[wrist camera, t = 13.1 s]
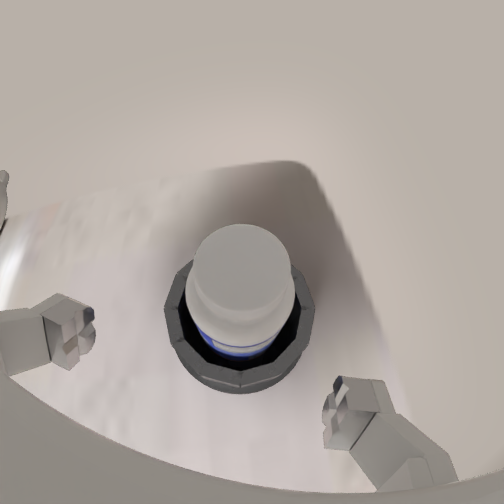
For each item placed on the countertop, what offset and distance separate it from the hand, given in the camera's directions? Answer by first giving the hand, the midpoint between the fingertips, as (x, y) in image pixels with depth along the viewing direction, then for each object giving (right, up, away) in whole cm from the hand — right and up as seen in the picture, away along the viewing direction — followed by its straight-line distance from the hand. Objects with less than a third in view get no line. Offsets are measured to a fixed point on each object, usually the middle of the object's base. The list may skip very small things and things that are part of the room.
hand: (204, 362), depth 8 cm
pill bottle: (0, -2, +12) cm, 12 cm away
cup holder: (0, -2, +13) cm, 13 cm away
